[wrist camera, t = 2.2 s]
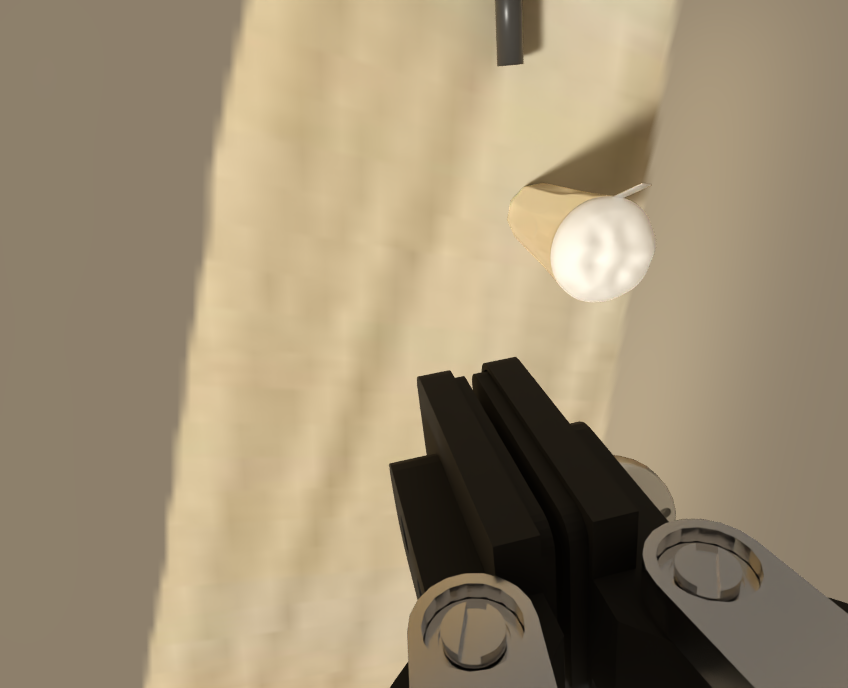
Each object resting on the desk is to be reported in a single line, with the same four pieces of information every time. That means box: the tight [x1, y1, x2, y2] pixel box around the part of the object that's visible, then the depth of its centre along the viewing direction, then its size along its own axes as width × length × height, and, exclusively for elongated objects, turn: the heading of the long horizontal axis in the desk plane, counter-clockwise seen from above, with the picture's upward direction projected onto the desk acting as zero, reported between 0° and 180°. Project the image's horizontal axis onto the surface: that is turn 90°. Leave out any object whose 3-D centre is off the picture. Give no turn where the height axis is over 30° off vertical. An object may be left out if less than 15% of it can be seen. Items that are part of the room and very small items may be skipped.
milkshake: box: [507, 183, 656, 302], centre depth 29 cm, size 4×5×10 cm
